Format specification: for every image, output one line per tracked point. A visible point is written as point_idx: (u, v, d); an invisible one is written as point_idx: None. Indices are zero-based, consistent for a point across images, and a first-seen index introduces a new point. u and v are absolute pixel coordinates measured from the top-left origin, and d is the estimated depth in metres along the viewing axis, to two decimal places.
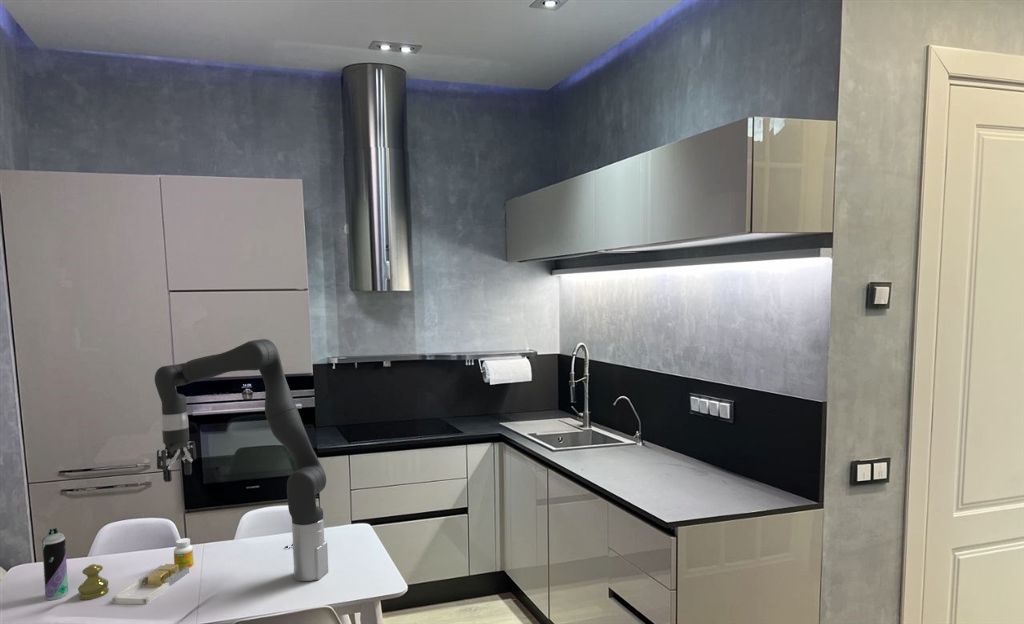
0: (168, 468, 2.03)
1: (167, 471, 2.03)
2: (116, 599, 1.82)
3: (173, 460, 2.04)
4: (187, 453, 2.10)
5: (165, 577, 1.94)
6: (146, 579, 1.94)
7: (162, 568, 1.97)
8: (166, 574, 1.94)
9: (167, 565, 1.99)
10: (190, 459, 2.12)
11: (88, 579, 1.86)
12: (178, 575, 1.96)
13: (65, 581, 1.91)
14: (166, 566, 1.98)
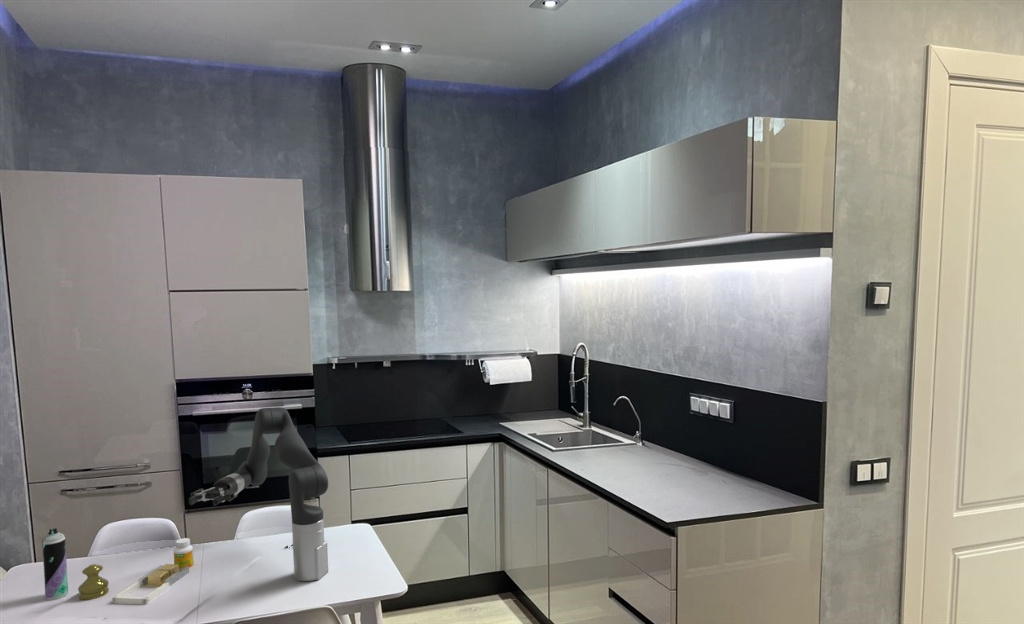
0: (195, 494, 2.21)
1: None
2: (116, 599, 1.82)
3: (203, 490, 2.23)
4: (221, 490, 2.23)
5: (165, 577, 1.94)
6: (146, 579, 1.94)
7: (162, 568, 1.97)
8: (166, 574, 1.94)
9: (167, 565, 1.99)
10: (222, 494, 2.20)
11: (88, 579, 1.86)
12: (178, 575, 1.96)
13: (65, 581, 1.91)
14: (166, 566, 1.98)
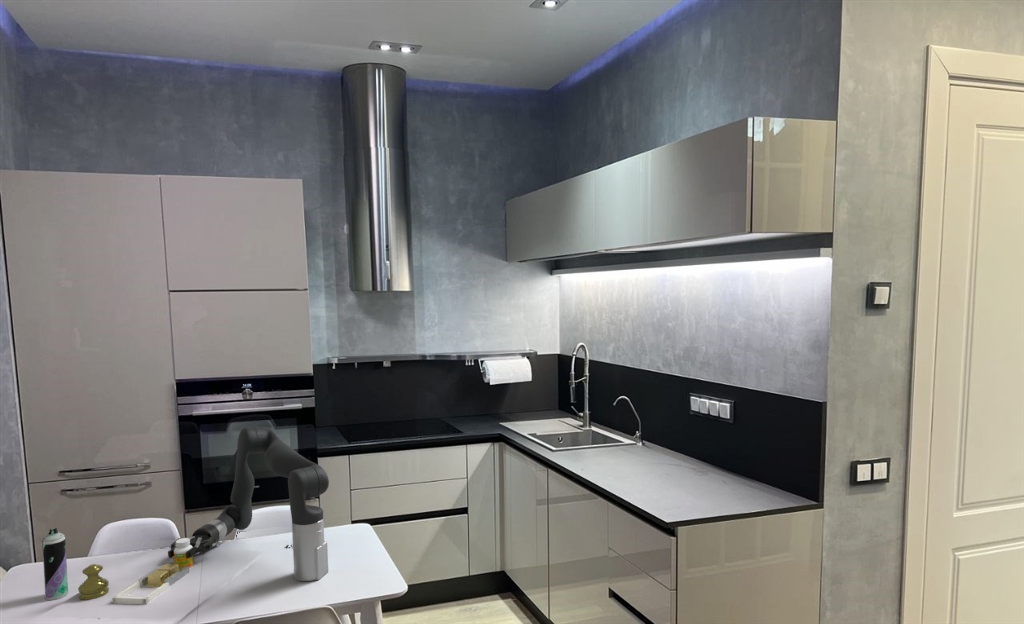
0: (175, 545, 2.08)
1: (173, 548, 2.07)
2: (116, 599, 1.82)
3: None
4: (199, 540, 2.10)
5: (165, 577, 1.94)
6: (146, 579, 1.94)
7: (162, 568, 1.97)
8: (166, 574, 1.94)
9: (167, 565, 1.99)
10: (196, 545, 2.07)
11: (88, 579, 1.87)
12: (178, 575, 1.96)
13: (65, 581, 1.91)
14: (166, 566, 1.98)
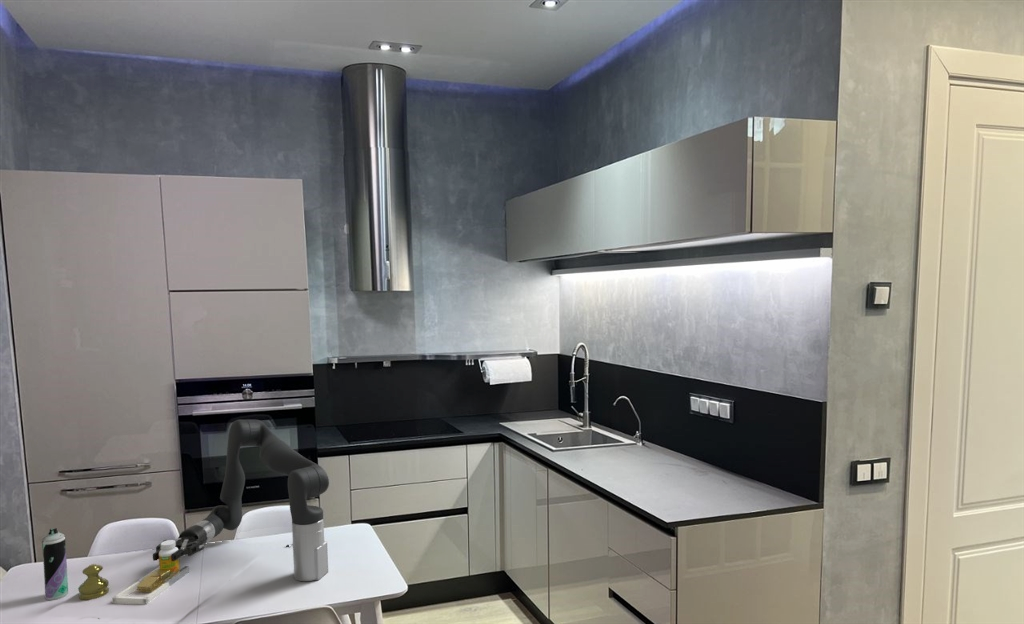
0: (160, 547, 2.01)
1: None
2: (116, 599, 1.82)
3: None
4: (185, 542, 2.03)
5: (155, 584, 1.90)
6: None
7: (153, 574, 1.93)
8: (156, 581, 1.90)
9: (158, 571, 1.95)
10: (182, 547, 2.00)
11: (88, 579, 1.87)
12: (178, 575, 1.96)
13: (65, 581, 1.91)
14: (157, 572, 1.94)
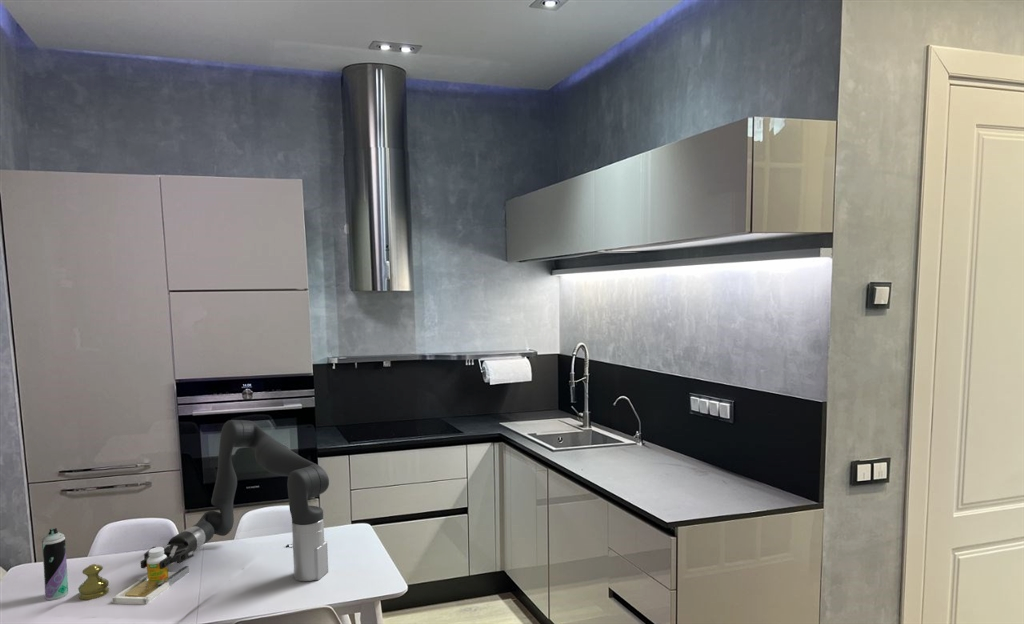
0: None
1: (147, 558, 1.95)
2: (116, 599, 1.82)
3: None
4: (174, 549, 1.98)
5: (144, 595, 1.85)
6: (146, 579, 1.94)
7: (141, 585, 1.88)
8: (145, 591, 1.85)
9: (146, 582, 1.90)
10: (171, 554, 1.95)
11: (88, 579, 1.87)
12: (178, 575, 1.96)
13: (65, 581, 1.91)
14: (145, 583, 1.89)
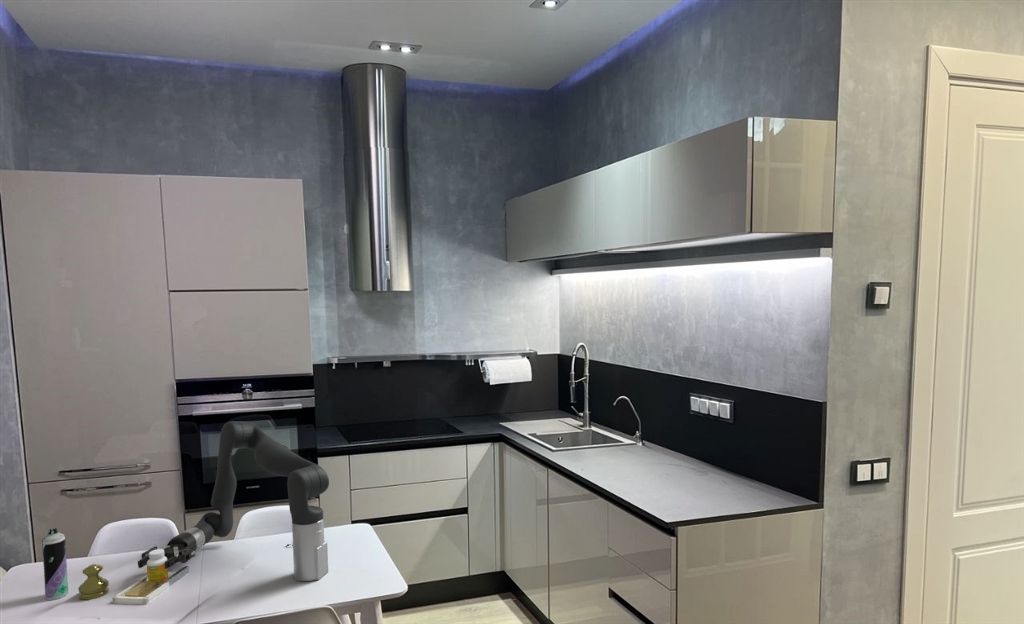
0: (146, 554, 1.96)
1: None
2: (116, 599, 1.82)
3: None
4: (176, 549, 1.98)
5: (144, 595, 1.85)
6: (146, 579, 1.94)
7: (140, 585, 1.88)
8: (145, 591, 1.85)
9: (145, 582, 1.90)
10: (176, 554, 1.96)
11: (88, 579, 1.87)
12: (178, 575, 1.96)
13: (65, 581, 1.91)
14: (145, 584, 1.89)
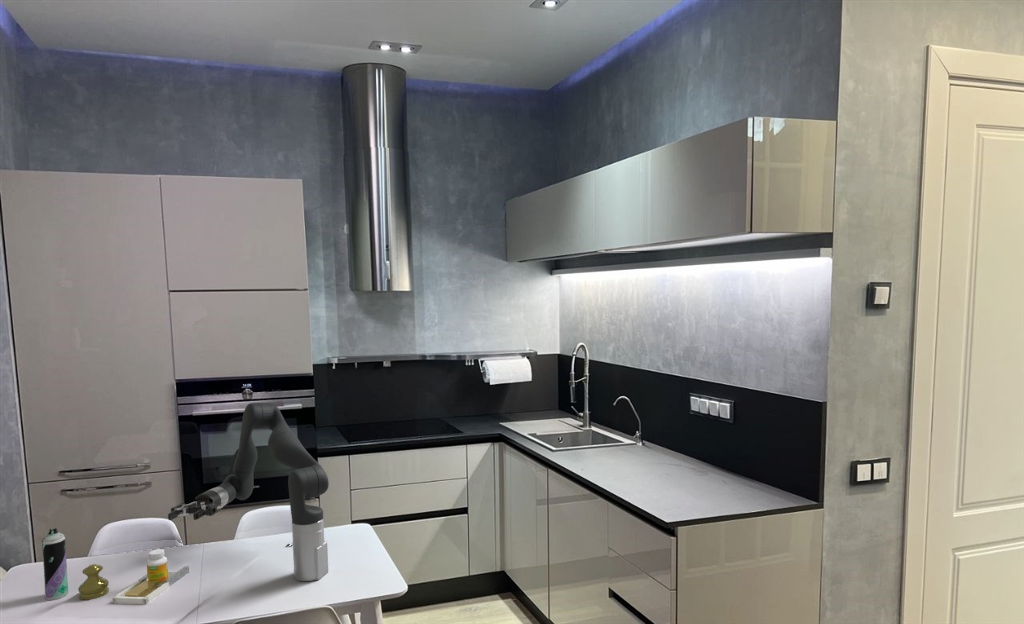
0: (175, 509, 2.10)
1: None
2: (116, 599, 1.82)
3: (184, 505, 2.12)
4: (203, 504, 2.12)
5: (144, 595, 1.85)
6: (146, 579, 1.94)
7: (140, 585, 1.88)
8: (145, 591, 1.85)
9: (145, 582, 1.90)
10: (203, 508, 2.10)
11: (88, 579, 1.87)
12: (178, 575, 1.96)
13: (65, 581, 1.91)
14: (145, 584, 1.89)
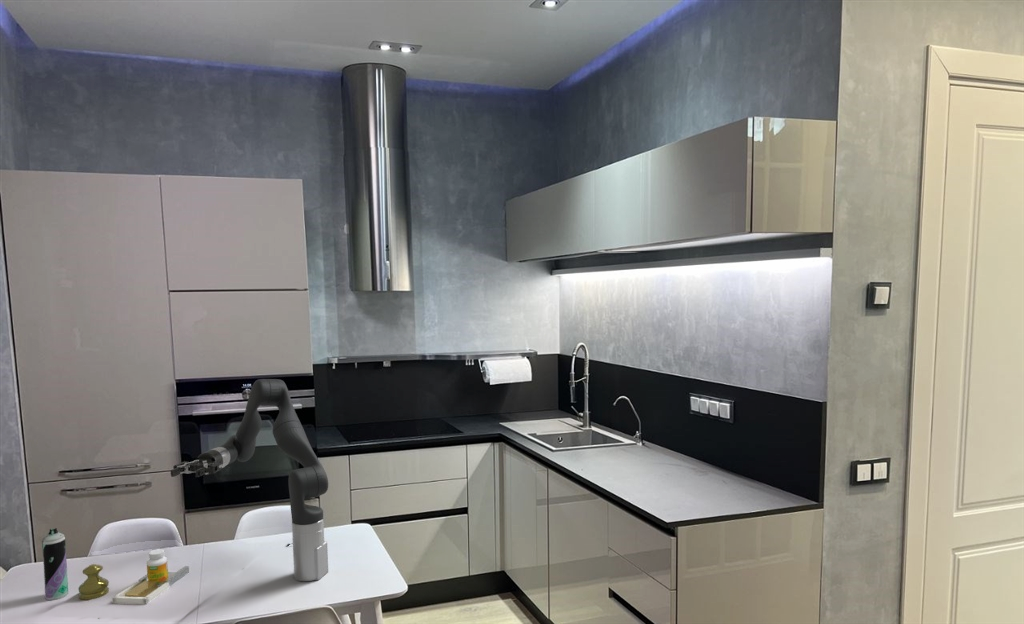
0: (178, 466, 2.13)
1: None
2: (116, 599, 1.82)
3: (186, 463, 2.15)
4: (205, 462, 2.15)
5: (144, 595, 1.85)
6: (146, 579, 1.94)
7: (140, 585, 1.88)
8: (145, 591, 1.85)
9: (145, 582, 1.90)
10: (205, 466, 2.12)
11: (88, 579, 1.87)
12: (178, 575, 1.96)
13: (65, 581, 1.91)
14: (145, 584, 1.89)
